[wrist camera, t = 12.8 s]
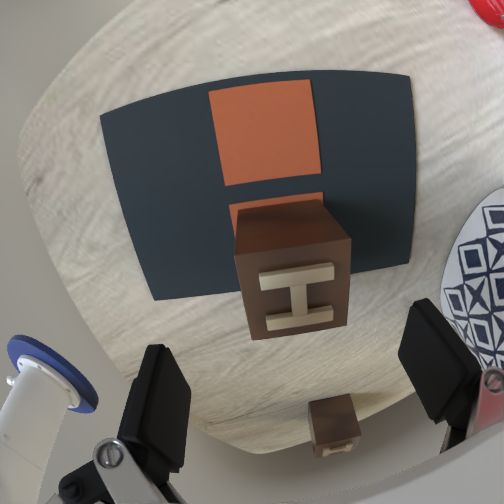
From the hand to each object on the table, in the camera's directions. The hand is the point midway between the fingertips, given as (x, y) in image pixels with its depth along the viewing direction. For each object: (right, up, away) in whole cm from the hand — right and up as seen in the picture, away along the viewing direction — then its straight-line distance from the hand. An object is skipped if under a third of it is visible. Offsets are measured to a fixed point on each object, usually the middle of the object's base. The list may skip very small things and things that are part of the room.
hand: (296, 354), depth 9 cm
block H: (0, +5, +8) cm, 9 cm away
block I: (+8, -15, +19) cm, 26 cm away
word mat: (0, +8, +7) cm, 10 cm away
